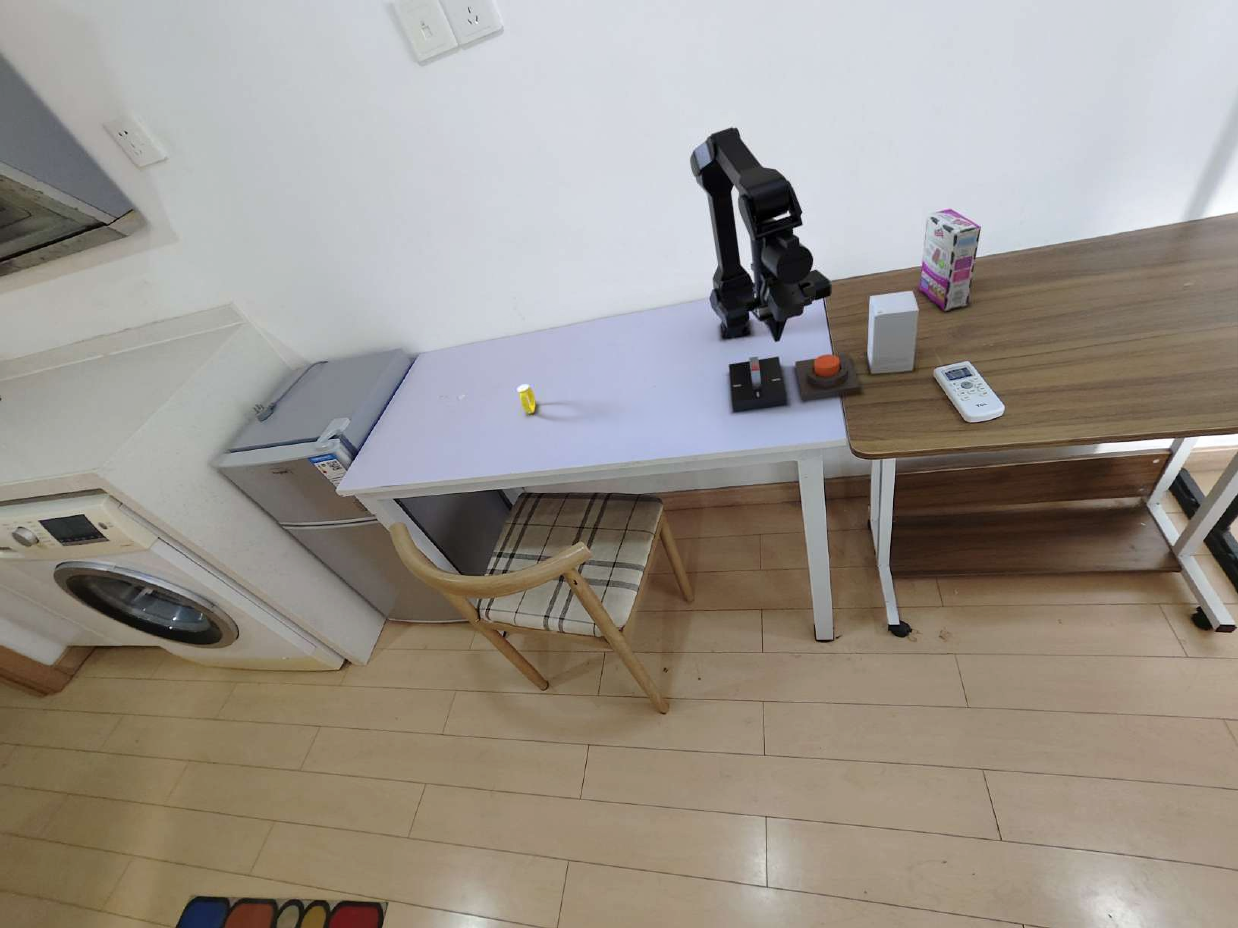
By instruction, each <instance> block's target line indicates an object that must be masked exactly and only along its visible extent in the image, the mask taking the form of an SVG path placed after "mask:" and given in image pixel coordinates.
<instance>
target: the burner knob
mask: <svg viewBox="0 0 1238 928" xmlns="http://www.w3.org/2000/svg"><path fill="white" fill-rule="evenodd" d="M758 360H759V356H752V357H749V358H748V361H750V369H751V377H752V385H753V391H754V390H761V389H762V387H761V378H760V369H759V362H758Z"/></svg>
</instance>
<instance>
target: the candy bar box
mask: <svg viewBox="0 0 1238 928" xmlns="http://www.w3.org/2000/svg"><path fill="white" fill-rule="evenodd" d="M981 229H982V226H981V225H979V224H977V223H976V222H973V221H972V220H970V219H969V218H967V217H965V216H963V214H960V213H959V212H957V211H955V210H953V209H952V208H948V209H944V210H940V211H937V212H933V213H930V214H927V215H926V226H925V233H924V242H923V251H922V263H921V269H920V280H919V291H921V293H923V294H924V295H925V296H926V297H927V298H929V299H930V300H931V301H932V302H933V303H934V304H935V305H937V307H939V308H940V309H942V311H943V312H948V311H952V310H956V309H960V308H964V307H968V306H969V305H968V304H969V301H970V299H969V298H970V293H971V289H972V288H971V287H972V281H973V276H974V270H975V264H976V258H977V252H978V246H979V243H980V235H981Z"/></svg>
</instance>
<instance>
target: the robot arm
mask: <svg viewBox="0 0 1238 928" xmlns="http://www.w3.org/2000/svg"><path fill="white" fill-rule="evenodd" d="M689 165H690V168H691V173H692V176H693V177H694V178H695V181H696V183H697V184H698V186H699V187H700V188H701V189H702V190H703V191H704V193H705V194H706V196H707V204H708V209H709V216H710V223H711V228H712V229H711V230H712V235H713V241H714V248H715V254H716V260H717V267H716V269H715V272H714V274H713V277H712V286H713V288H712V289H711V292H710V295H709V297H708V298H709V299H708V300H709V303H710V307H711V309H712V310H713V312H714V313H715V314H716V316H717V317H718V318H719V319H720V321H721V323H720V335H721V336H720V337H721V339H722V340H725V339H731V338H737V337H743V336H750V335H751V333H752V331H751V324H750V313H751V314H752V315H753V316H754V317H755V319H756V320H757V321H759V322H760V323H761V322H762V323H764V325H765V327H766V329H767V331H768V332H769V334H770V336H771V338H772V340H773V341H774V342H775V343H778V342H781V339H782V335H783V333H784V330H785V327H786V324H787V322H788V320H789V319H792V318H794V317H800V316H802V315H804V310H805V307H808V306H811V305H813V302H814V301H819V300H822V299H826V298H828V297H831V296H832V294H833V285H832V281H831V280H830V279H829V278H828V277H827V276H826V275H824V274H823V273H822V272H821V271H819V270H818V269H813V266H814V256H813V254H812V252H811V250H810V249H809V248H808V247H806V246H805V245H804V244H803V243H802V242H800V238H799V236H797V235H796V234H794V229H796V228H799V227H802V226H803V225H804V224H803V223H804V222H803V218H802V214H803V209H802V207H801V204H800V202H799V198H798V197H797V193H796V192H795V188H794V186H792V183H791V181H789V180H788V179H787V178H786V177H785V175H784V174H782V173H781V172H780V171H779V170H777V169H776V168H771V167H764V166H763V165H762V164H761V163H760V162H759V160H758V159H757V157H756V156H755V154H753V152H752V151H751V150H750V148H749V147H748V146H747V145H746V143H745V142H744V141H743V140H742V138H741V134H740V130H739V129H738V127H732V126H731V127H728V128H725V129H722V130H719V131H716V132H712V133H711V134H710V135H709V136H707V138H706V140H705V141H704V142H703V143H701V144H700V145H698V147H696V148H694V149H693V151H692V152H691V155H690V158H689ZM734 188H735V189H736V190H737V191H738V197H737V206H738V212H739V214H740V217H741V219H742V222H743V224H744V227H745V229H746V231H747V234H748V236H749V243H750V251H751V252H750V253H751V261H752V263H750V270H751V271H752V273H753V279H752V276H751V274H750V273H749V272H748V271H747V270H746V269H745V268H744V267H743V266H742V264H741V257H740V248H739V240H738V232H737V226H736V225H737V224H736V218H735V211H734V202H733V201H734V200H733V195H732V191H733V189H734ZM788 213H789V215H788V216H785V217H782V218H779V219H775V218H777V217H780V216H784V215H786V214H788Z"/></svg>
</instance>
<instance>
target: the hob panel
mask: <svg viewBox="0 0 1238 928" xmlns="http://www.w3.org/2000/svg"><path fill="white" fill-rule="evenodd" d="M758 362H759V369H760V378H761V387H762V389H761V390H754V391H753V385H752V377H751V369H750V360H748V361H747V360H746V361H741V362H734V363H729V364H728V373H729V386H730V398H731V399H730V401H731V407H732V412H733V413H739V412H748V411H755V410H764V409H771V408H779V407H785V406H787V405H788V402H787V401H788V400H787V392H786V388H785V387H786V386H785V383H784V381H785V380H784V377H783V371H782V366H781V360H780V356H773V357H766V358H760V359H759V358H758Z"/></svg>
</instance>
